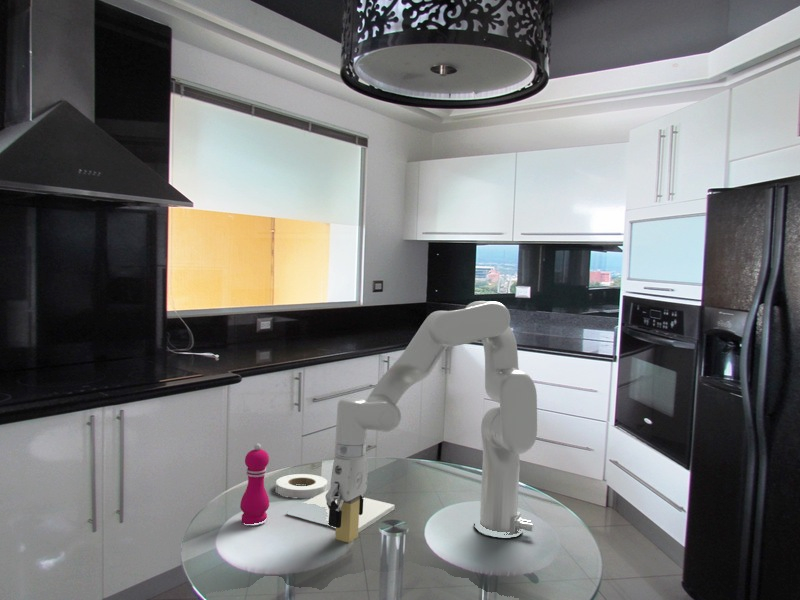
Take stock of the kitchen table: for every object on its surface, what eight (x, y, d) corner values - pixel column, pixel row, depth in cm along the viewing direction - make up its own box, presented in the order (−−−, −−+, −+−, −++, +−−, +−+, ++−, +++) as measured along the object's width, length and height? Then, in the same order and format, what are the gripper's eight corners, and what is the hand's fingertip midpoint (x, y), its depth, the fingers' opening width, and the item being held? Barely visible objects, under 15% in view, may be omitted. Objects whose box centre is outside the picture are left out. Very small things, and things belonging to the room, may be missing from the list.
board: (394, 509, 152) (394, 504, 152) (356, 534, 135) (356, 529, 135) (329, 493, 163) (329, 489, 163) (286, 514, 145) (286, 510, 145)
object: (306, 479, 176) (307, 470, 176) (337, 492, 165) (337, 482, 165) (265, 489, 165) (265, 479, 165) (294, 503, 154) (295, 493, 154)
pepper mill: (239, 528, 135) (243, 447, 135) (239, 517, 142) (243, 440, 142) (269, 526, 137) (272, 446, 137) (268, 515, 144) (271, 439, 144)
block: (357, 536, 133) (359, 495, 133) (349, 542, 130) (351, 500, 130) (344, 533, 135) (346, 492, 135) (335, 538, 132) (337, 497, 132)
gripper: (343, 460, 123) (338, 535, 123) (381, 445, 139) (376, 512, 138) (316, 454, 127) (312, 527, 127) (356, 440, 142) (352, 505, 142)
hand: (345, 519), depth 132 cm, fingers open, 9 cm apart
